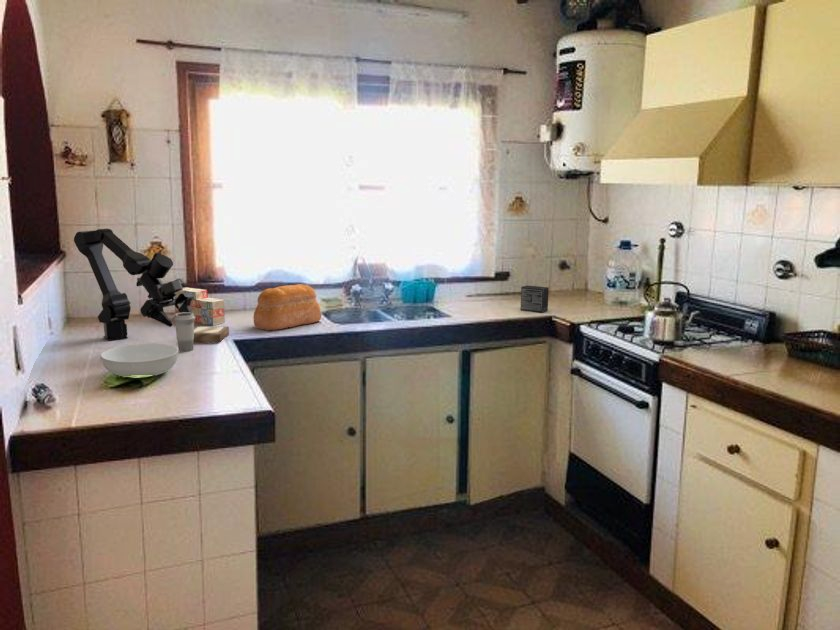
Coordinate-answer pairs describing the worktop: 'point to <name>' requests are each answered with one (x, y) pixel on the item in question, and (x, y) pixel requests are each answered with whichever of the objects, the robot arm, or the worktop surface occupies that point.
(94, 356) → the worktop surface
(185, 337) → the cup
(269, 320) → the bread
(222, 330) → the plinth
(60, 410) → the worktop surface
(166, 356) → the serving bowl
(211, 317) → the stack of blocks
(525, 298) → the small box
